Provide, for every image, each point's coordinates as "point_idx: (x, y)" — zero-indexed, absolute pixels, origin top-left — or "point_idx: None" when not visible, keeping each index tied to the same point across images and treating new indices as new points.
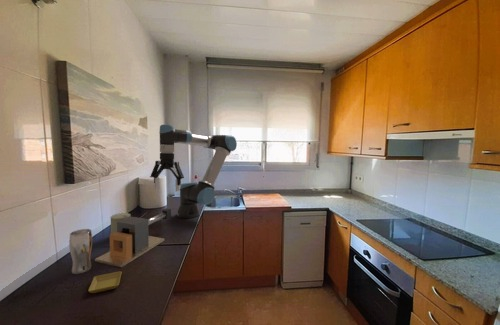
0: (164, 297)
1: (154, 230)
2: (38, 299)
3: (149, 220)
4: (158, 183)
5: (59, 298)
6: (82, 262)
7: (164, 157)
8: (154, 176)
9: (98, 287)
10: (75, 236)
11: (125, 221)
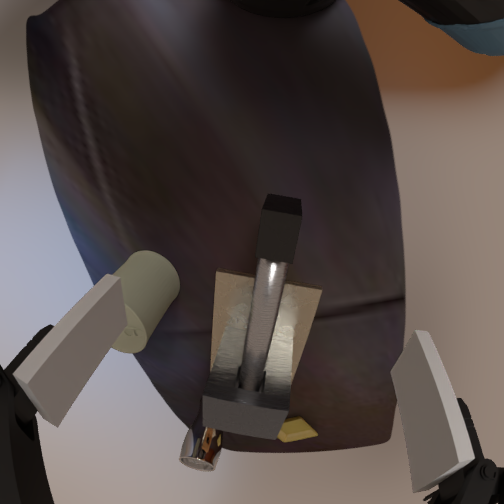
0: (389, 427)
1: (225, 202)
2: (228, 438)
3: (263, 358)
4: (84, 332)
5: (251, 438)
6: None
7: None
8: (25, 428)
9: (285, 429)
10: (205, 469)
11: (223, 424)
